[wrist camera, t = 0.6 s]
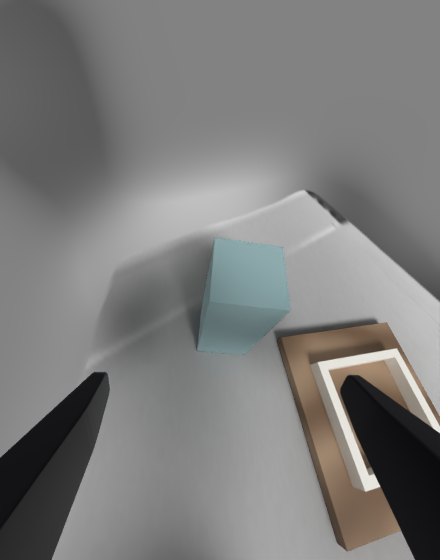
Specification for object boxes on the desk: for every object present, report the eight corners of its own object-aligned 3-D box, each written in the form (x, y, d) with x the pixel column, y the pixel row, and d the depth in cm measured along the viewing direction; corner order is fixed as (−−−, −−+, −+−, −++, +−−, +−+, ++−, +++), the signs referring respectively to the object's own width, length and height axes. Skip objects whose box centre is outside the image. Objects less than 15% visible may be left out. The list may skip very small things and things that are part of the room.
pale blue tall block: (243, 355, 24) (290, 310, 14) (197, 350, 23) (209, 301, 13) (243, 311, 27) (282, 247, 16) (201, 306, 26) (214, 237, 16)
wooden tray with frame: (469, 493, 21) (506, 503, 18) (337, 543, 18) (361, 563, 15) (379, 325, 28) (396, 317, 26) (276, 340, 25) (286, 333, 23)
